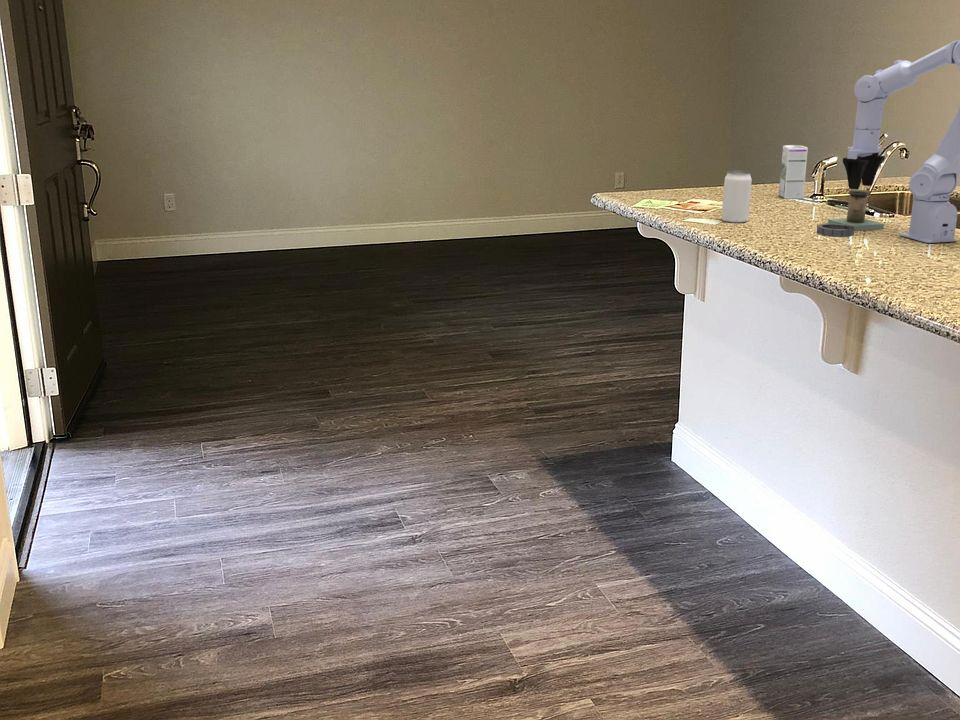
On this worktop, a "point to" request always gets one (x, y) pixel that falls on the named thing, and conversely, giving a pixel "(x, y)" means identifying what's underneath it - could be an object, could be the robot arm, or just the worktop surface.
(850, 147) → the robot arm
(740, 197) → the can
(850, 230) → the collar
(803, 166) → the syrup box
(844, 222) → the pad
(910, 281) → the worktop surface
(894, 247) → the worktop surface
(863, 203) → the hook peg
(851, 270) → the worktop surface
